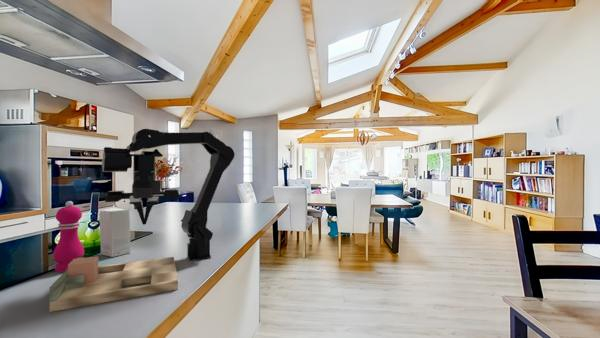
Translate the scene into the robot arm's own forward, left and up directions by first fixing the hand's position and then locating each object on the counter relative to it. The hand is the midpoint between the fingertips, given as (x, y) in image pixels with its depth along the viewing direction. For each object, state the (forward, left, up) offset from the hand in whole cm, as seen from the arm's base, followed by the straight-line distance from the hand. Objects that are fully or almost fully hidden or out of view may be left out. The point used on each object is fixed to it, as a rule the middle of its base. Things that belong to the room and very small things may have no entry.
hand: (144, 224), depth 83 cm
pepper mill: (+20, -10, -13) cm, 26 cm away
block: (+12, +10, -11) cm, 19 cm away
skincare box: (+10, -22, -13) cm, 28 cm away
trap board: (+4, +10, -13) cm, 17 cm away
